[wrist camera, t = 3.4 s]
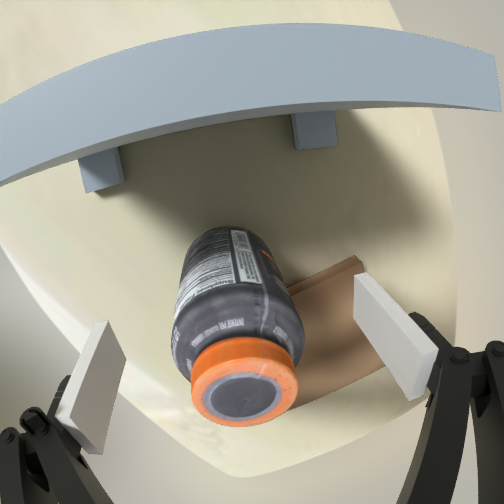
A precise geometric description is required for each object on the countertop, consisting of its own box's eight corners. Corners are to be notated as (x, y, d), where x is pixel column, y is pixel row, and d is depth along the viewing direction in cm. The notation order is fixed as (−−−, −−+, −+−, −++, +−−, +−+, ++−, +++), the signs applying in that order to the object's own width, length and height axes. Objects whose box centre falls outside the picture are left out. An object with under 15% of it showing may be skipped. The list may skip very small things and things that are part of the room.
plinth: (204, 324, 22) (204, 334, 21) (354, 255, 21) (361, 262, 20) (266, 408, 27) (268, 417, 26) (380, 357, 26) (386, 365, 25)
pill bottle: (273, 299, 22) (317, 430, 12) (190, 308, 21) (183, 446, 11) (270, 219, 19) (333, 328, 9) (177, 228, 19) (143, 349, 9)
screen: (87, 191, 17) (-51, 293, 5) (70, 102, 15) (-93, 102, 3) (336, 144, 18) (501, 190, 6) (323, 54, 16) (475, -14, 4)
